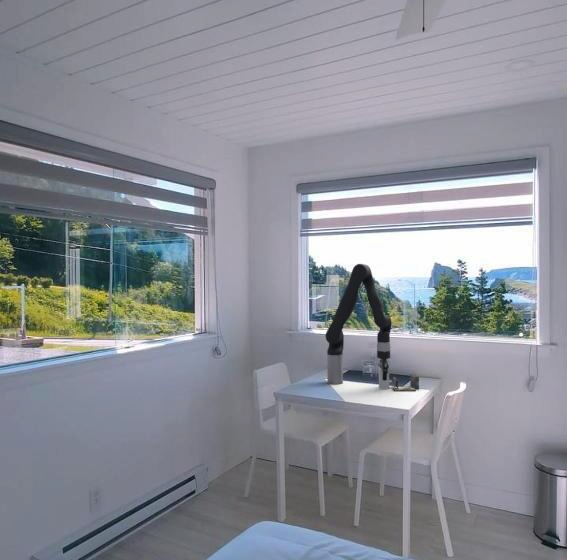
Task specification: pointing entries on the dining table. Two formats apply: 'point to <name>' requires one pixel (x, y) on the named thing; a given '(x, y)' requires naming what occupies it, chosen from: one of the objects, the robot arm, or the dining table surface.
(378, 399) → the dining table surface
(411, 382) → the test stand
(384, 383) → the force gauge
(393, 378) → the gauge plunger
